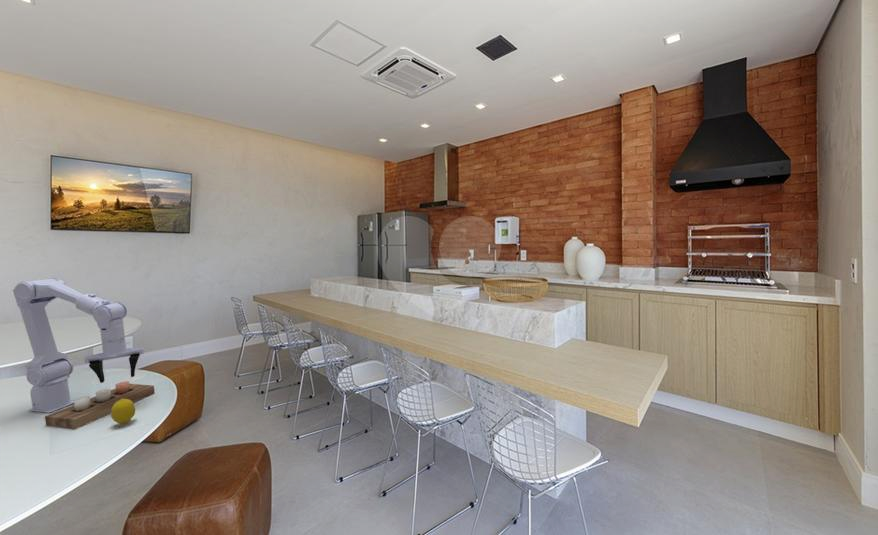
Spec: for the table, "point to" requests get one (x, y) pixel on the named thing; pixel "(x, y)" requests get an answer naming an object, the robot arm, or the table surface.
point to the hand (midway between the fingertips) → (117, 378)
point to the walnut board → (96, 408)
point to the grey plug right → (82, 403)
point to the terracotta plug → (122, 387)
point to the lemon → (123, 411)
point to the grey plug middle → (103, 395)
